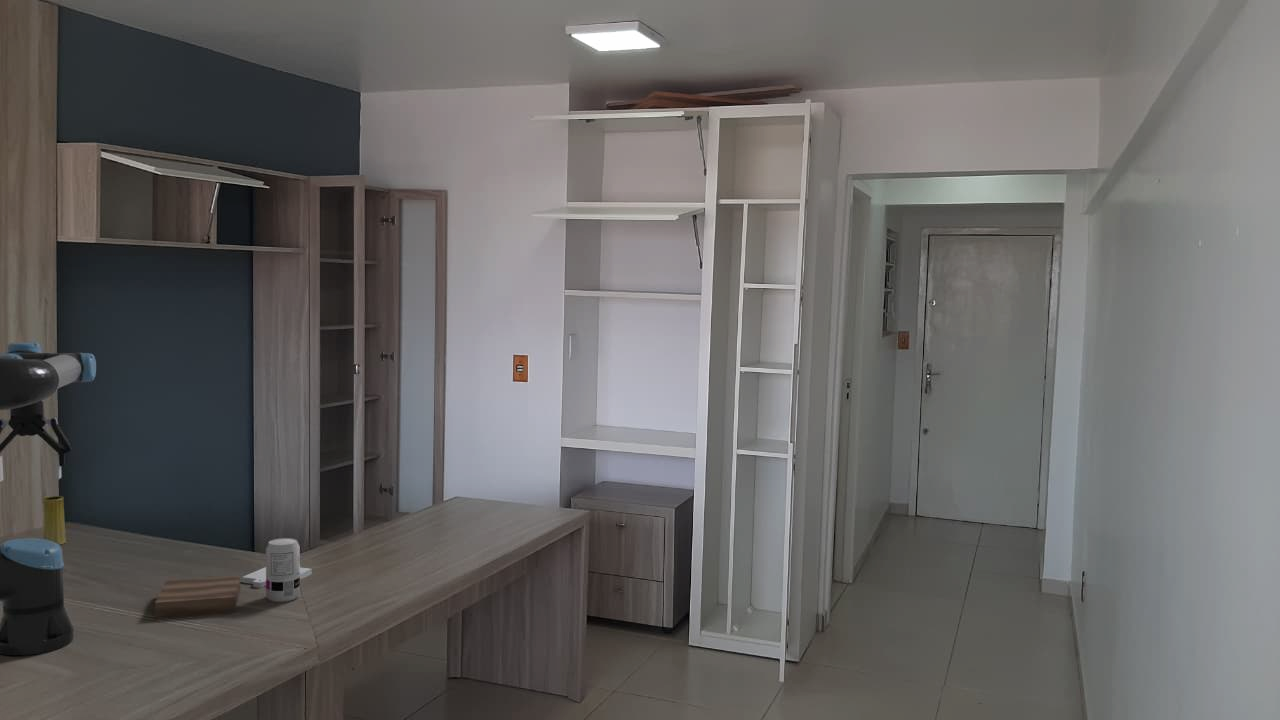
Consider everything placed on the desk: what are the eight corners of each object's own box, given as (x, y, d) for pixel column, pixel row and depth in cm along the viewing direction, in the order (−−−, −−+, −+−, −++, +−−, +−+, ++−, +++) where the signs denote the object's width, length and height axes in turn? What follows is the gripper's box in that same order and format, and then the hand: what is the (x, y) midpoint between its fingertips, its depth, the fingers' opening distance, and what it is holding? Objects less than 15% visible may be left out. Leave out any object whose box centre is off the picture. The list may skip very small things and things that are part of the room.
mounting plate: (277, 568, 282) (277, 561, 281) (316, 572, 278) (316, 566, 278) (236, 586, 264) (236, 579, 264) (277, 591, 261) (277, 584, 261)
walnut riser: (235, 612, 243) (234, 596, 243) (155, 618, 237) (155, 602, 237) (240, 590, 260) (240, 575, 260) (165, 595, 254) (165, 580, 254)
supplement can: (259, 599, 253) (259, 542, 252) (284, 591, 260) (284, 535, 259) (281, 605, 249) (281, 547, 248) (306, 596, 257) (306, 540, 255)
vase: (44, 542, 301) (43, 496, 300) (67, 540, 304) (66, 495, 302) (41, 547, 295) (40, 500, 294) (65, 545, 298) (64, 499, 297)
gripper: (82, 397, 266) (85, 474, 268) (-24, 400, 258) (-21, 479, 260) (76, 400, 259) (79, 479, 261) (-34, 403, 251) (-30, 485, 252)
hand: (29, 479), depth 260 cm, fingers open, 13 cm apart
